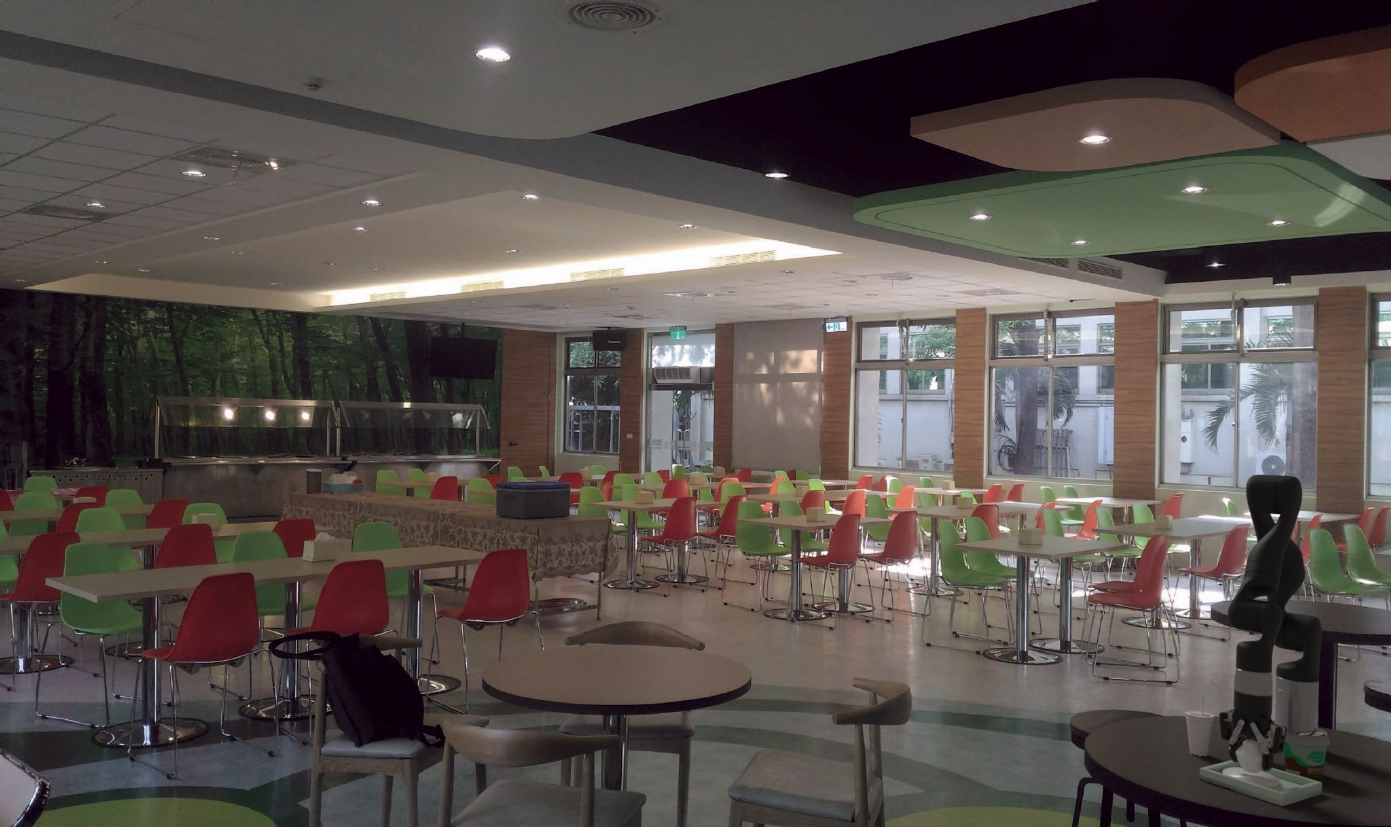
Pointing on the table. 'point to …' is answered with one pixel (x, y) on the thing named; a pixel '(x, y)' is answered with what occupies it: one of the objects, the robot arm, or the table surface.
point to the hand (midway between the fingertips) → (1251, 765)
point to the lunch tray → (1262, 783)
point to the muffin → (1250, 756)
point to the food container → (1306, 753)
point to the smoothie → (1199, 730)
